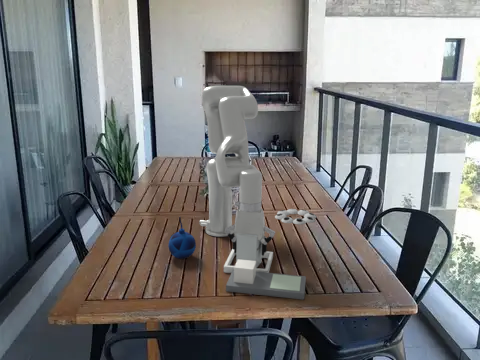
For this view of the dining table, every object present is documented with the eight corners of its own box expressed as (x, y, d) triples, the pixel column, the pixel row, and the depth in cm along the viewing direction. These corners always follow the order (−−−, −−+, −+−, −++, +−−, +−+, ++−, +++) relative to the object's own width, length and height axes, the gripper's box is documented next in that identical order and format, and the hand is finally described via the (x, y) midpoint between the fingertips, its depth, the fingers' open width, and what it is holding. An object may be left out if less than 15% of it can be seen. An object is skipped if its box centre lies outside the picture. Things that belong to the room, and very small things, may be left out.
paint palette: (302, 228, 184) (302, 224, 184) (266, 218, 196) (266, 214, 196) (324, 217, 198) (325, 213, 198) (290, 208, 211) (290, 204, 210)
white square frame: (223, 272, 144) (223, 266, 143) (232, 253, 158) (232, 248, 157) (267, 276, 141) (267, 270, 140) (272, 257, 155) (272, 251, 154)
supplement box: (255, 271, 145) (256, 236, 141) (235, 267, 147) (235, 233, 144) (262, 262, 151) (263, 228, 148) (242, 258, 154) (243, 226, 151)
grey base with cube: (225, 291, 131) (226, 270, 130) (233, 274, 142) (233, 255, 140) (304, 299, 127) (305, 278, 125) (305, 281, 138) (306, 262, 136)
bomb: (189, 248, 162) (188, 211, 158) (200, 260, 152) (199, 221, 148) (164, 253, 157) (163, 215, 153) (173, 265, 148) (172, 225, 144)
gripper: (222, 207, 142) (222, 255, 146) (274, 211, 138) (273, 259, 143) (227, 201, 149) (227, 246, 153) (276, 204, 146) (275, 250, 150)
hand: (249, 252), depth 148 cm, fingers open, 9 cm apart
